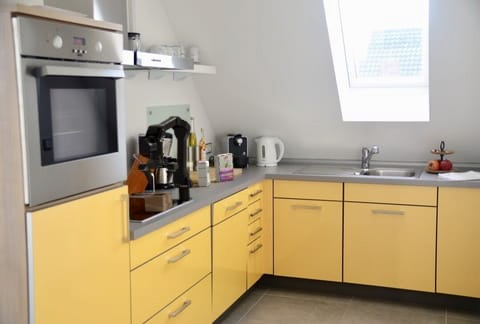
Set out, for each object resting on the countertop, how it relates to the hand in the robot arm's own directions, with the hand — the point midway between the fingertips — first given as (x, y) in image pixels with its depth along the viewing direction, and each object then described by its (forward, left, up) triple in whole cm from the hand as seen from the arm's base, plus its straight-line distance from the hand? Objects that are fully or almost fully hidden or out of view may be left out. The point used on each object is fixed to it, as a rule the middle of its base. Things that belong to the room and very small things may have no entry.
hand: (159, 184), depth 283 cm
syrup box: (-68, -2, -12) cm, 69 cm away
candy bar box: (-86, +5, -12) cm, 87 cm away
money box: (+1, 0, -12) cm, 12 cm away
